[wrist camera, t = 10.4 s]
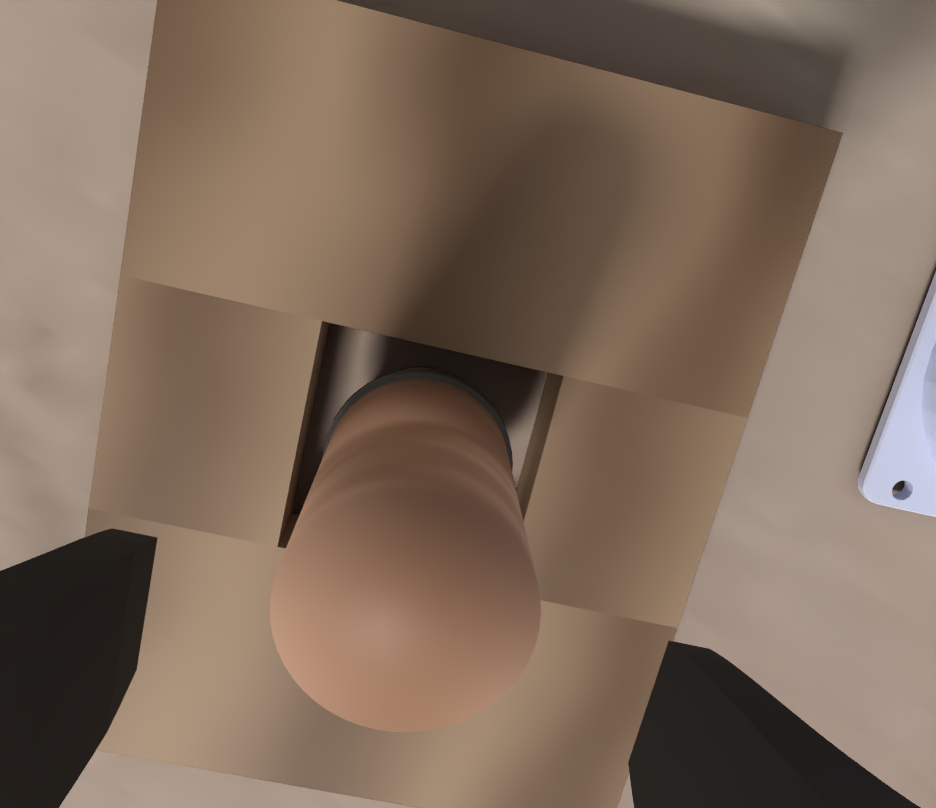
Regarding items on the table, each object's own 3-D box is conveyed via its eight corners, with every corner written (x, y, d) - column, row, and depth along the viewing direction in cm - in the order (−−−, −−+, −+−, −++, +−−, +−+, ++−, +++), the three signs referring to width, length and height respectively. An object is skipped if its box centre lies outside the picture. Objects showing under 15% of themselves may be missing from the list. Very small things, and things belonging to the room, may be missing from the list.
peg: (523, 373, 21) (581, 517, 12) (481, 528, 22) (507, 760, 14) (354, 333, 21) (292, 452, 12) (320, 493, 22) (239, 708, 13)
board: (804, 136, 20) (843, 132, 18) (592, 787, 24) (606, 841, 22) (192, -24, 19) (163, -46, 17) (88, 695, 23) (56, 743, 21)
